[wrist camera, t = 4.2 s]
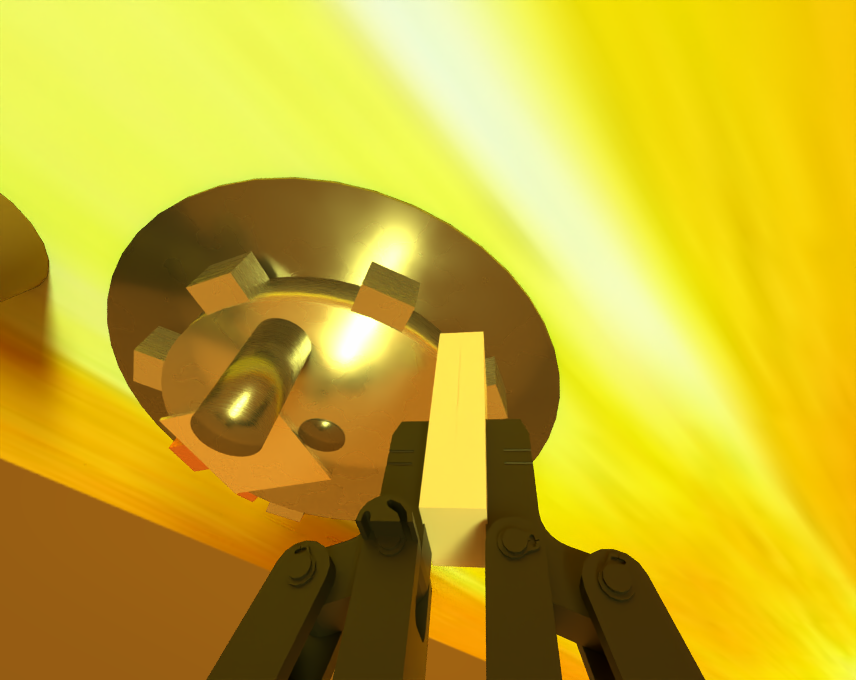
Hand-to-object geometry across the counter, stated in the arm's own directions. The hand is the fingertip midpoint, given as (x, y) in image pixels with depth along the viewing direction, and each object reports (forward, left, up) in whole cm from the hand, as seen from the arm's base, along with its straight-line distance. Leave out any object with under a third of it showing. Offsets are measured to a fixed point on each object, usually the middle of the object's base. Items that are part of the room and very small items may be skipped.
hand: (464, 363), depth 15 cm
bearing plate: (-8, -6, -4) cm, 11 cm away
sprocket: (-8, -6, -4) cm, 11 cm away
